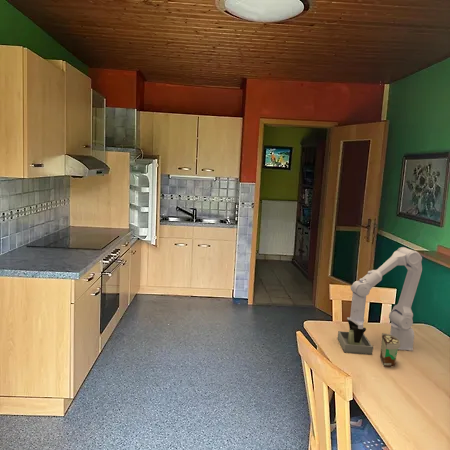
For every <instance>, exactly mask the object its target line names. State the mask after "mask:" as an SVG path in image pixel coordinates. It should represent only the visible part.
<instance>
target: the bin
mask: <svg viewBox="0 0 450 450" xmlns="http://www.w3.org/2000/svg"><path fill="white" fill-rule="evenodd" d="M348 335H349V331H342V330H338V331H337V340H338V343H339V344H340V346H341V348H342V350H343V352H344V353H345V354H355V355H357V354H358V355H368V356H369V355H371V356H373V353H374V352H373V350H374V346H373V345H372V343H371V342H370V340H369V339H368V337H367V336H366V334H365V332H364V333H363V335H362V339H361V345H350V344H348Z"/></svg>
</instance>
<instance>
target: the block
mask: <svg viewBox="0 0 450 450" xmlns="http://www.w3.org/2000/svg"><path fill="white" fill-rule="evenodd" d="M348 332H349V335H348V344H350V345H361V340H360V343H355V342H354V332H353V330H350V329H349V330H348ZM361 339H362V338H361Z"/></svg>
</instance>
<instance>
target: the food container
mask: <svg viewBox="0 0 450 450" xmlns="http://www.w3.org/2000/svg"><path fill="white" fill-rule="evenodd" d="M380 341H381V342H380V355H379V357H380V361H381V363H382V366H383V368H392V367H394V366H395V364H396V360H397V355H398V351H399V349H398V348H400V342H399V339H398V338H396V337H394V336H392V335H390V333H383V332H382V333H381V340H380Z"/></svg>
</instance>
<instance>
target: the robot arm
mask: <svg viewBox="0 0 450 450" xmlns="http://www.w3.org/2000/svg"><path fill="white" fill-rule="evenodd" d="M422 261H423V257H422V255H421V254H420V252H419V251H416V250H413V249H410V248H407V247H405V246H401V247H398V249H397V250H395V251H394V252H393V253H392V255H391V256H390V257H389V258H388V259H387V260H385V262H383V264H382V265H380V266H379V267H378V268H377V269H371V270H368V271H367V274H365V275H364V276H363V277H362V278H361V277H360V278H359V280H356V281H353V283H352V284H351V286H350V290H351V292H352V295H351V304H350V305H351V307H350V313H349V314H350V315H349V317H346V319H347V323H348V326H349V327H348V328H349V330H353V332H354V342H355V343H360V340H361V338H362V335H363V333H364V334H365V332H366V331H367V328H366V327H364V323H365V313H366V303H367V296H369V294H370V291H371V290H372V289H373V288H374V287H376V285H377V284H379V283H380V282H381V281H382V280H383V276H384V275H386V274H388V273H389V272H390V271H391V270H393V269H394V268H396V267H397V266H404V267H405V268H406V269H407V272H406V275H405V279H404V281H403V285H402V289H401V293H400V296H399V299H398V302H397V304H395V305H394V306H393V307H392V310H391V311H390V313H389V315H388V319H389V321H390V330H389V331H390V332H389V335H392V336H394V337H396V338H398V339H399V342H400V348H398V351H399V350H400V351H401V350H402V351H410V352H411V351H414V343H415V342H414V340H415V331H414V328H412V327H413V323H414V321H413V317H414V313H413V310H412V305H413V302H414V299H415V296H416V293H417V288H418V286H419V283H420V279H421V275H422V271H423V265H422Z"/></svg>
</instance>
